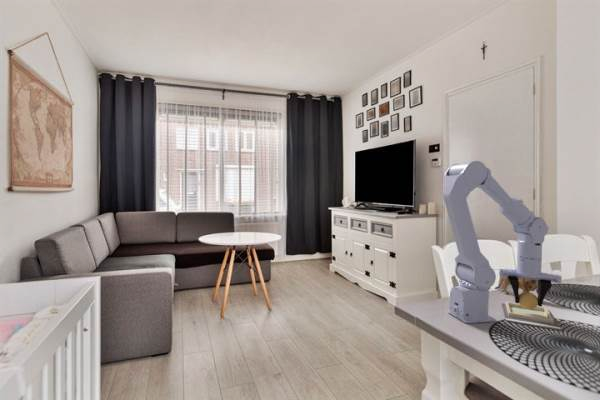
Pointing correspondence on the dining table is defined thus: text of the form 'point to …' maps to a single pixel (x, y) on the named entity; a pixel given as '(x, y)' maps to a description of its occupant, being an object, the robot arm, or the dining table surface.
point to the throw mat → (529, 316)
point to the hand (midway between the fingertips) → (528, 303)
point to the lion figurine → (520, 284)
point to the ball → (528, 300)
